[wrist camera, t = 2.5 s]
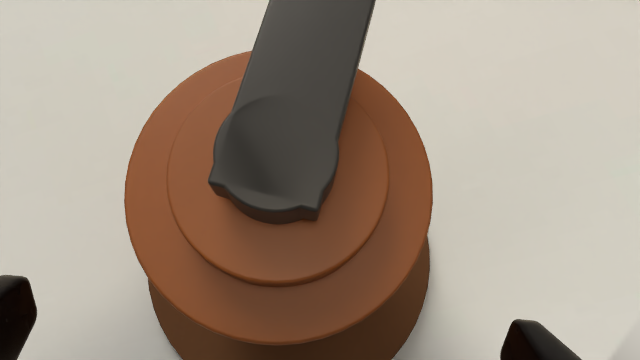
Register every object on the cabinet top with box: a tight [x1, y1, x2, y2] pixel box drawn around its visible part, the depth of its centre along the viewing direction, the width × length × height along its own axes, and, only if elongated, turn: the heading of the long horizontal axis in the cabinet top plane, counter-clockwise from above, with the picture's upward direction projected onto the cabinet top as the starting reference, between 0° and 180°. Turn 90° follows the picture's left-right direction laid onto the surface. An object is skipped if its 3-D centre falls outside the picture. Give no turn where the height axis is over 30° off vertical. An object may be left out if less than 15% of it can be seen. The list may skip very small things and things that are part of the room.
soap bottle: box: [124, 0, 433, 345], centre depth 13 cm, size 7×6×11 cm
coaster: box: [148, 236, 430, 360], centre depth 19 cm, size 11×11×1 cm
